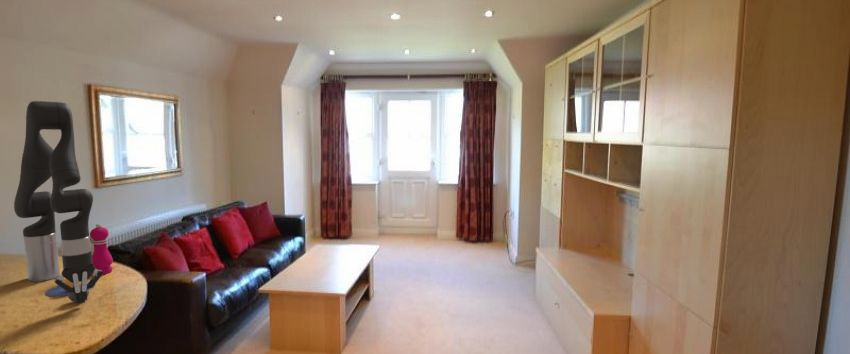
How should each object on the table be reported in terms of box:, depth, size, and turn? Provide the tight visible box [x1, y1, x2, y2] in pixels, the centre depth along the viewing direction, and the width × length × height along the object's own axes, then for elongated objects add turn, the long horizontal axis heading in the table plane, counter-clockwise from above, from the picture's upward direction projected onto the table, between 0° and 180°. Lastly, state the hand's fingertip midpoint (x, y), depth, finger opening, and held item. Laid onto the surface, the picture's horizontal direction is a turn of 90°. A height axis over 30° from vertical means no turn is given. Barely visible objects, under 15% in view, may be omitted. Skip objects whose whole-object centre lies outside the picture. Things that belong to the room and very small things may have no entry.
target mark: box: [45, 280, 96, 298], centre depth 157 cm, size 14×14×1 cm
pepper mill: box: [89, 223, 114, 275], centre depth 172 cm, size 7×7×20 cm
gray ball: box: [67, 285, 90, 303], centre depth 146 cm, size 6×6×6 cm
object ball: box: [64, 278, 81, 292], centre depth 154 cm, size 6×6×6 cm
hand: (81, 302), depth 142 cm, fingers closed
